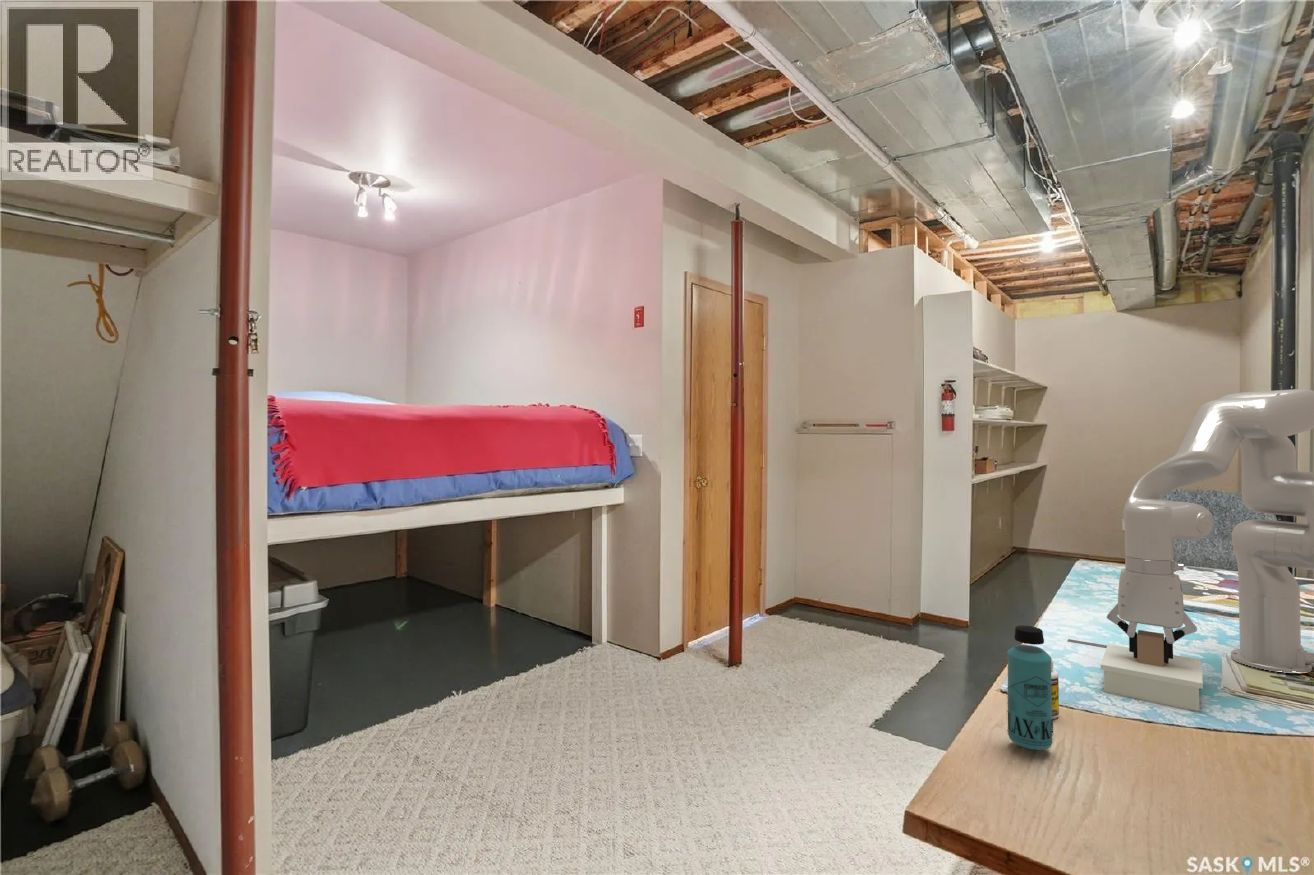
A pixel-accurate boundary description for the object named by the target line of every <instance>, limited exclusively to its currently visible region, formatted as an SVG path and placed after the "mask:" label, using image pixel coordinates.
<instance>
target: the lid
mask: <svg viewBox="0 0 1314 875" xmlns="http://www.w3.org/2000/svg"><path fill="white" fill-rule="evenodd" d="M1164 640H1165V633H1161V632H1155V631H1154V632H1153V631H1148V630H1141V629H1138V630H1137V655H1138V658H1134V654H1133V652H1129V646H1128V647H1126V646H1123V645H1122V646H1121V645H1115V644H1109V643H1108V644H1106V645H1107V648H1105V651H1104V654H1103V656H1102V658H1101V661H1100V664H1099V665H1100V670H1101V671H1104V670H1106V671H1111V672H1117V673H1122V674H1127V675H1132V676H1138V677H1143V678H1148V679H1153V680H1159V681H1164V682H1169V683H1174V684H1180V685H1185V686H1190V687H1195V688H1199V689H1200V690H1201V689H1202V690H1203V688H1204V686H1203V684H1204V683H1203V671H1202V670H1203V669H1202V659H1200V658H1195V657H1193V658H1192V657H1187V656H1181V655H1175V654H1173V659H1170V658H1169V662H1168V664H1166V663H1165V662H1164Z"/></svg>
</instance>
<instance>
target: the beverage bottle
mask: <svg viewBox="0 0 1314 875" xmlns="http://www.w3.org/2000/svg"><path fill="white" fill-rule="evenodd" d="M1014 629H1015V630H1014V640H1015V641H1016V642H1019V643H1022V644H1016V645H1014V646H1012V647H1011V648H1009V649H1008V650H1007V652H1006V654H1007V688H1006V691H1007V693H1006V695H1007V707H1006V709H1007V728H1006V732H1007V735H1008V738H1009V740H1010V741H1011V742H1012V743H1014V744H1016V745H1018V746H1020V747H1022V748H1026V749H1030V750H1038V751H1039V750H1040V751H1042V750H1044V751H1045V750H1048V749H1050V748H1051V747H1052V745H1053V743H1054V738H1053V734H1054V721H1053V719H1052V685H1051V662H1052V660H1053V658H1052V656H1051V655H1050V654H1049V653H1047V651H1046V650H1045V649H1043V648H1041V647H1038V646H1036V645H1043V644H1045V638H1044V631H1043V629H1041V628H1039V627H1036V626H1032V625H1016V626H1015V628H1014Z"/></svg>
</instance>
